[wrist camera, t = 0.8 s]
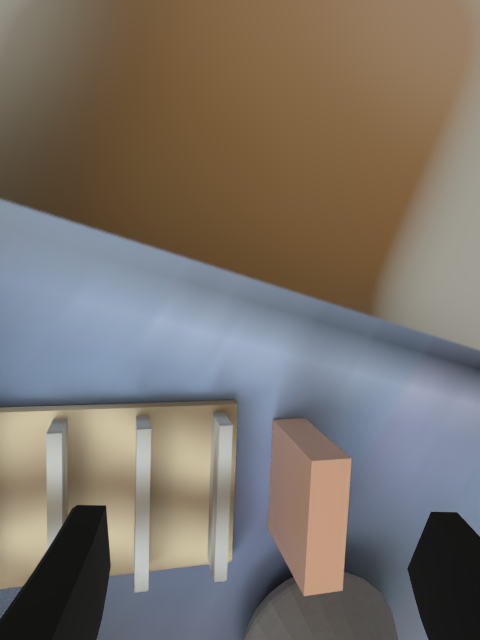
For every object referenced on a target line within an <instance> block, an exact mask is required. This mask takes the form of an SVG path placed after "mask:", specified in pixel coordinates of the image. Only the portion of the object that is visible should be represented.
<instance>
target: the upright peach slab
mask: <svg viewBox="0 0 480 640" xmlns="http://www.w3.org/2000/svg"><path fill="white" fill-rule="evenodd" d="M351 462H352V458H351V457H350V456H348V455H347V454H346V453H345V452H344V451H343V450H341V449H340V448H339V447H338V446H337V445H336V444H335V443H333V442H332V441H331V440H330V439H329V438H328V437H326V436H325V435H324V434H323V433H322V432H321V431H320V430H318V429H317V428H316V427H315V426H314V425H313V424H311V423H310V422H309V421H308V420H307V419H306V418H295V419H273V425H272V446H271V466H270V487H269V507H268V530H269V532H270V534H271V535H272V537H273V539H274V541H275V543H276V545H277V547H278V549H279V550H280V552H281V554H282V556H283V558H284V560H285V562H286V564H287V566H288V567H289V569H290V571H291V573H292V575H293V577H294V579H295V581H296V582H297V584H298V586H299V588H300V590H301V592H302V594H303V596H309V595H316V594H323V593H330V592H337V591H343V578H344V563H345V549H346V534H347V520H348V505H349V491H350V476H351Z"/></svg>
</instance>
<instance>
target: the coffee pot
mask: <svg viewBox="0 0 480 640" xmlns="http://www.w3.org/2000/svg"><path fill="white" fill-rule="evenodd" d="M243 640H398V637H397V632H396V628H395V624H394V620H393V616H392V612H391V609H390V607H389V605H388V604H387V602H386V600H385V599H384V597H383V596H382V594H381V593H380V591H378V590H377V589H376V588H375V587H373V586H372V585H371V584H370V583H369V582H367V581H366V580H365V579H363V578H361V577H358V576H356V575H353V574H350V573H348V572H345V571H344V578H343V591H337V592H330V593H323V594H316V595H309V596H303V594H302V592H301V590H300V588H299V586H298V584H297V582H296V581H295V579H294V577H292V578H290V579H288V580H286V581H284V582H283V583H282V584H280V585H279V586H278V587H277V588H275V589H274V590H273V591H271V592H270V593H269V594H268V595H267V596H266V598H265V599H264V600H263V601H262V602H261V604H260V605H259V606H258V607H257V608H256V610H255V612H254V613H253V615H252V617H251V619H250V621H249V623H248V625H247V627H246V631H245V635H244V639H243Z"/></svg>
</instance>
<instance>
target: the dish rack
mask: <svg viewBox="0 0 480 640" xmlns="http://www.w3.org/2000/svg"><path fill="white" fill-rule="evenodd" d="M237 417H238V404H237V402H236V401H235V400H216V401H185V402H154V403H123V404H92V405H61V406H30V407H0V589H5V588H13V587H22V586H24V584H25V583H26V582H27V580H28V579H29V577H30V576H31V574H32V573H33V571H34V570H35V568H36V567H37V565H38V564H39V562H40V561H41V559H42V558H43V556H44V554H45V553H46V551H47V550H48V548H49V547H50V545H51V543H52V542H53V540H54V539H55V537H56V535H57V534H58V532H59V530H60V529H61V527H62V525H63V524H64V522H65V520H66V518H67V516H68V515H69V513H70V511H71V509H72V508H73V507H75V506H76V505H106V511H107V524H108V536H109V549H110V562H111V568H110V574H109V576H113V575H122V574H130V573H134V591H135V593H136V592H144V591H148V579H149V571H155V570H163V569H172V568H180V567H189V566H197V565H205V564H209V565H210V569H211V572H212V576H213V580H214V582H221V581H227V564H228V562H230V561H232V543H233V518H234V493H235V468H236V442H237Z"/></svg>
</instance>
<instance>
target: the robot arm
mask: <svg viewBox="0 0 480 640" xmlns="http://www.w3.org/2000/svg"><path fill="white" fill-rule="evenodd" d="M110 568H111V562H110V549H109V536H108V524H107V511H106V505H76V506H75V507H73V508H72V509H71V511H70V513H69V515H68V516H67V518H66V520H65V522H64V524H63V525H62V527H61V529H60V530H59V532H58V534H57V535H56V537H55V539H54V540H53V542H52V543H51V545H50V547H49V548H48V550H47V551H46V553H45V554H44V556H43V558H42V559H41V561H40V562H39V564H38V565H37V567H36V568H35V570H34V571H33V573H32V574H31V576H30V577H29V579H28V580H27V582H26V583H25V584H24V586H23V587H22V589H21V590H20V592H19V593H18V595H17V596H16V597H15V599H14V600H13V602H12V603H11V605H10V606H9V608H8V609H7V610H6V612H5V613H4V615H3V616H2V617H1V619H0V640H96V639H97V635H98V631H99V628H100V624H101V620H102V615H103V609H104V603H105V598H106V592H107V586H108V580H109V574H110ZM408 572H409V576H410V580H411V584H412V588H413V592H414V596H415V600H416V603H417V607H418V610H419V614H420V617H421V620H422V623H423V626H424V629H425V631H426V634H427V637H428V639H429V640H480V537H479V535H478V534H477V533H476V532H475V531H474V530H473V529H472V528H471V527H470V526H469V525H468V524H467V523H466V521H465V520H464V519H463V518H462V517H461V516H460V515H459V514H458V513H457V512H431V513H430V516H429V518H428V520H427V523H426V525H425V528H424V530H423V533H422V535H421V537H420V540H419V542H418V545H417V547H416V549H415V552H414V554H413V557H412V559H411V562H410V564H409V566H408Z"/></svg>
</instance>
